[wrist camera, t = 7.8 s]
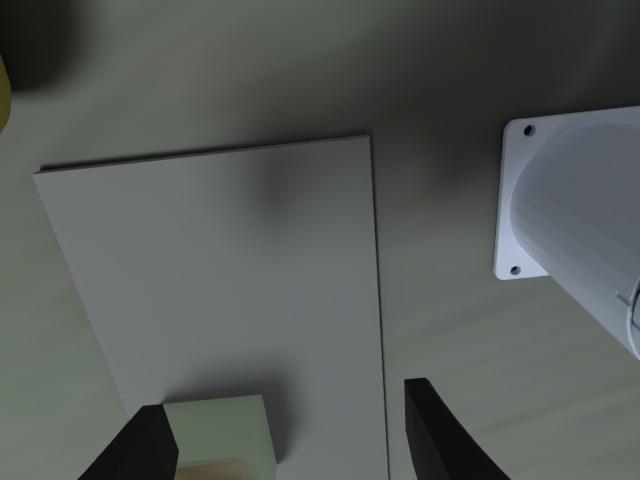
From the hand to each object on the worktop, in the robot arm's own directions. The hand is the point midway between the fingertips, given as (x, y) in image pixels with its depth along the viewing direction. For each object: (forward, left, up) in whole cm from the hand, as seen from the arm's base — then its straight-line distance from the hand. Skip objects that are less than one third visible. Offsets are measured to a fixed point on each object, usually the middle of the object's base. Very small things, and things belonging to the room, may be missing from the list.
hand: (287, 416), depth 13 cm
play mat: (+3, +6, -10) cm, 12 cm away
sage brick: (+6, +11, -9) cm, 16 cm away
